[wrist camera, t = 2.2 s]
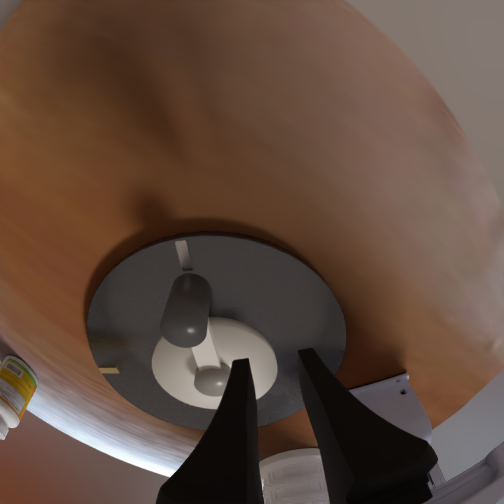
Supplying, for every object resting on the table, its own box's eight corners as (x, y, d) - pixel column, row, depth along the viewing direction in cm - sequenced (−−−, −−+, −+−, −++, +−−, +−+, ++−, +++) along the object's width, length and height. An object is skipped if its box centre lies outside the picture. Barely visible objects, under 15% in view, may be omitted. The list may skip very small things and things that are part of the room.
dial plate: (345, 210, 19) (351, 214, 18) (335, 406, 28) (337, 414, 27) (53, 257, 19) (46, 263, 18) (144, 426, 28) (142, 433, 27)
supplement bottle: (21, 385, 25) (-6, 439, 16) (-2, 354, 23) (-36, 407, 14) (46, 387, 25) (18, 448, 16) (21, 353, 23) (-16, 414, 14)
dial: (279, 393, 24) (287, 433, 20) (174, 403, 24) (169, 442, 20) (263, 259, 19) (273, 297, 15) (120, 280, 19) (96, 318, 14)
